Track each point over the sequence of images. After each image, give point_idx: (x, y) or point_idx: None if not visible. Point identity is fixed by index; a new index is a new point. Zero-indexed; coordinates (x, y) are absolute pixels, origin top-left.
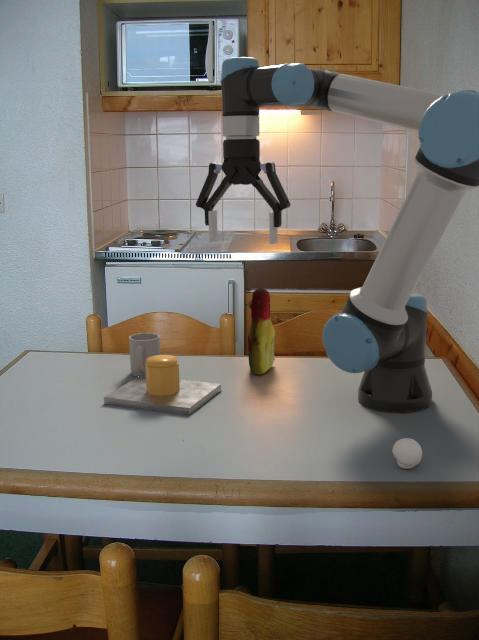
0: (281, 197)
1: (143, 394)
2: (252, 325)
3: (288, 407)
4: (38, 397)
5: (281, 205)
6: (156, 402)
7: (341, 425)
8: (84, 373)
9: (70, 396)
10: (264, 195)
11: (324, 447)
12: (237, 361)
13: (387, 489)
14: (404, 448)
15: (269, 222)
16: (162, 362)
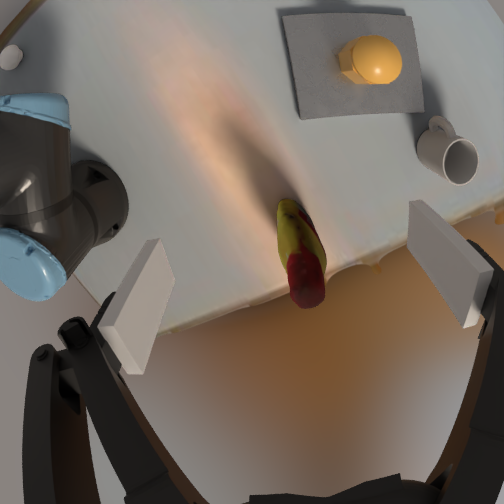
0: (33, 388)
1: None
2: (309, 243)
3: (177, 107)
4: (479, 25)
5: (51, 356)
6: (337, 17)
7: (96, 95)
8: (490, 119)
9: (456, 34)
10: (110, 408)
11: (85, 35)
12: (344, 243)
13: (20, 14)
14: (4, 48)
15: (130, 289)
16: (366, 43)
